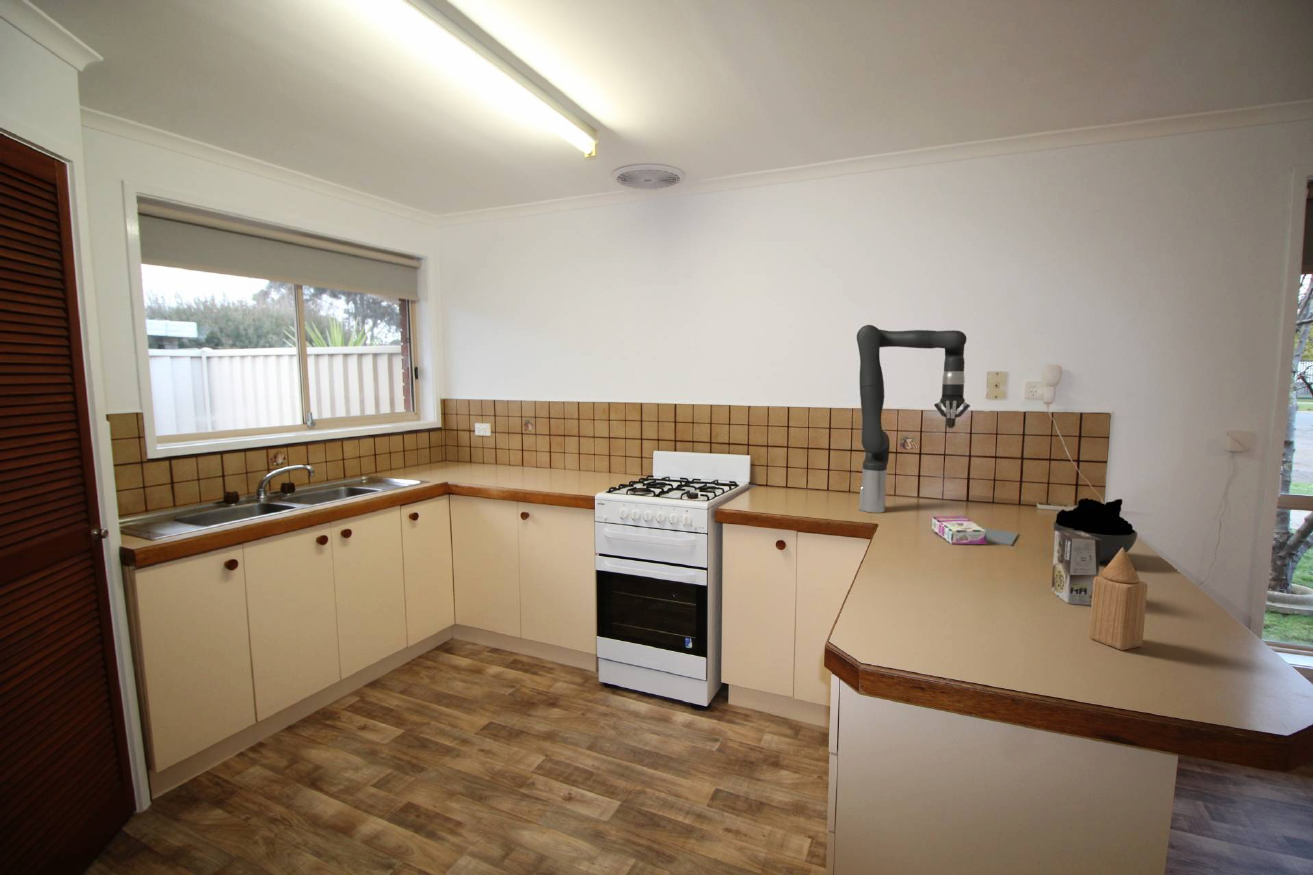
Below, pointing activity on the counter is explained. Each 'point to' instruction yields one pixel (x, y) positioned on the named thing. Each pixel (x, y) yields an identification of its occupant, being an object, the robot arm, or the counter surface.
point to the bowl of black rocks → (1099, 525)
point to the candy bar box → (958, 530)
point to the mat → (1000, 536)
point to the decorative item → (1118, 605)
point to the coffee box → (1075, 565)
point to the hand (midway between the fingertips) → (950, 427)
